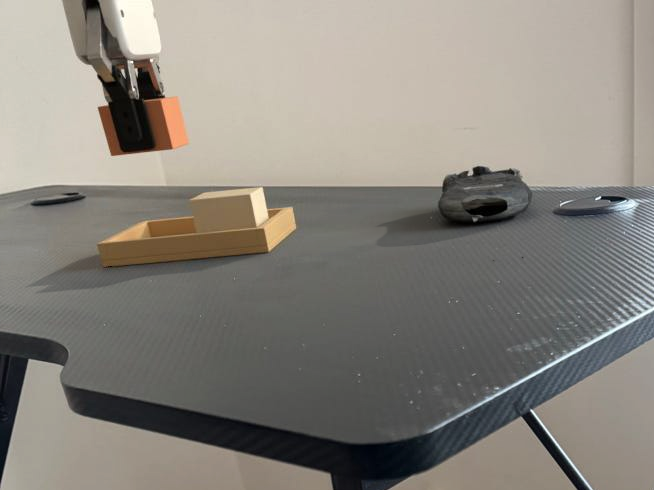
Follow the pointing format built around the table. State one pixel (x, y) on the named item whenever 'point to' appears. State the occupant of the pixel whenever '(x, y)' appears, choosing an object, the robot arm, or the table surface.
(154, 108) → the pad
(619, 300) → the table surface
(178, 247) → the tray
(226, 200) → the pad
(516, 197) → the electronic device
